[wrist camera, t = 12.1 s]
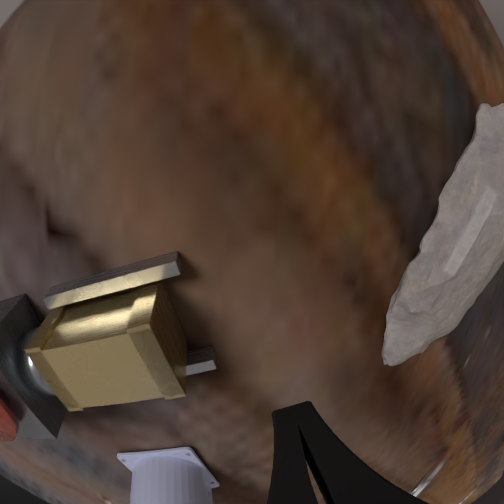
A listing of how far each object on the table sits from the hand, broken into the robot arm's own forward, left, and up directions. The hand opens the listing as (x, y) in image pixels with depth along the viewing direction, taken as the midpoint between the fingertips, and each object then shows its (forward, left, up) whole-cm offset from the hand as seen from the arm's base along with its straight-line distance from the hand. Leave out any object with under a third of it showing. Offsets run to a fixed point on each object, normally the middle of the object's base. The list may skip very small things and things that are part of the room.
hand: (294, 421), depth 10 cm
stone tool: (+1, -17, -10) cm, 20 cm away
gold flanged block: (0, +9, -10) cm, 13 cm away
